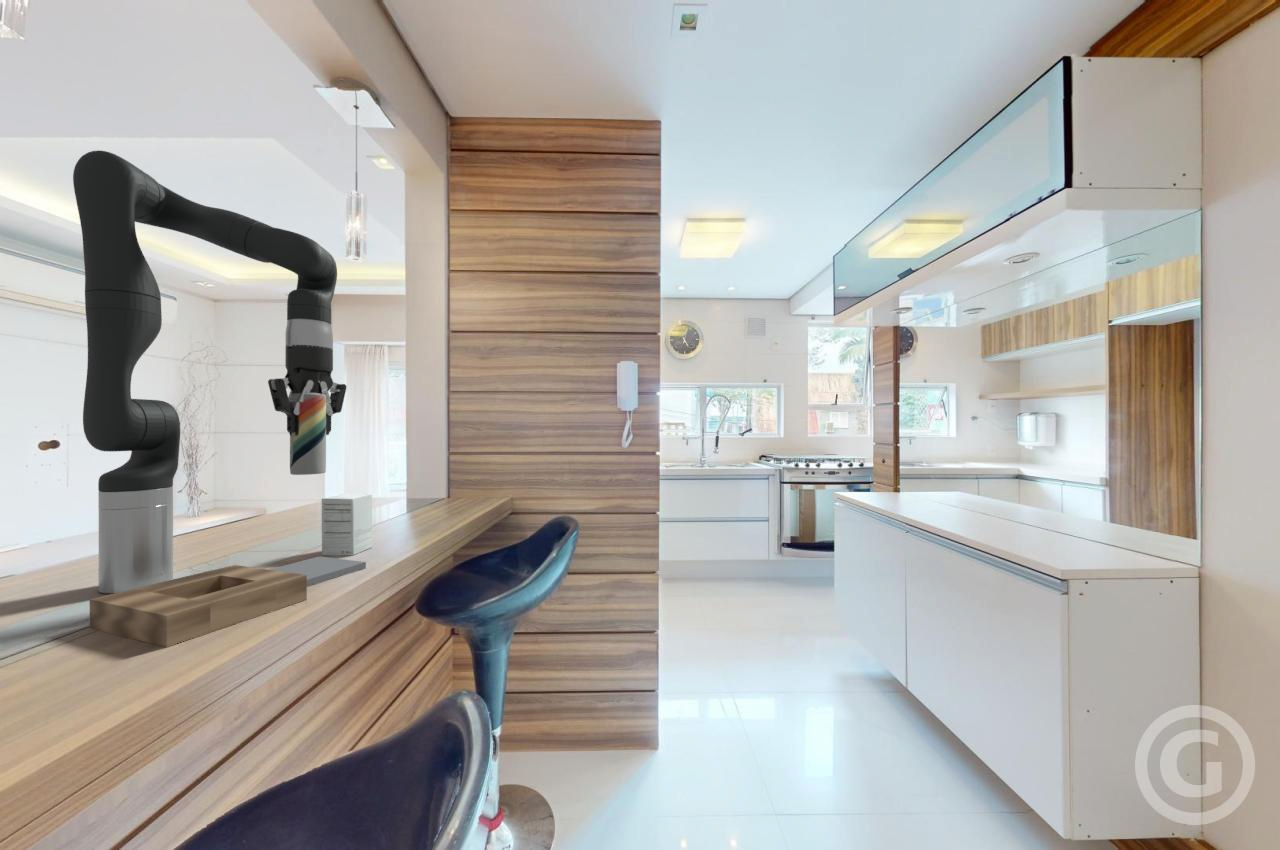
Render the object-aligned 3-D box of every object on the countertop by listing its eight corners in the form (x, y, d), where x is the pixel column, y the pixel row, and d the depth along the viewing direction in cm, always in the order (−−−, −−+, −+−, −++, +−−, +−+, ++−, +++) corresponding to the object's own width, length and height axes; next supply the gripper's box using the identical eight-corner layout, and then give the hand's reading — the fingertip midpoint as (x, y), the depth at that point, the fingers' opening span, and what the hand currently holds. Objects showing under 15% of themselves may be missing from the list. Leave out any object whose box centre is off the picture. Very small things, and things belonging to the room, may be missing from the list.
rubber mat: (250, 580, 89) (250, 574, 89) (319, 562, 101) (319, 556, 101) (300, 588, 84) (300, 581, 84) (365, 568, 96) (365, 562, 96)
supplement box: (343, 547, 114) (342, 493, 114) (373, 547, 113) (373, 493, 113) (320, 555, 106) (320, 498, 106) (352, 556, 106) (352, 498, 106)
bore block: (89, 627, 68) (89, 599, 68) (234, 587, 85) (234, 564, 85) (166, 647, 62) (166, 615, 62) (306, 599, 79) (306, 575, 79)
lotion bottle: (283, 474, 91) (284, 368, 92) (316, 472, 96) (316, 371, 97) (299, 475, 88) (299, 366, 89) (332, 473, 93) (332, 369, 94)
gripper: (330, 352, 101) (330, 434, 101) (256, 341, 87) (255, 435, 87) (357, 350, 98) (357, 434, 98) (284, 338, 85) (284, 436, 85)
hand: (309, 434), depth 93 cm, fingers closed on lotion bottle, 5 cm apart
